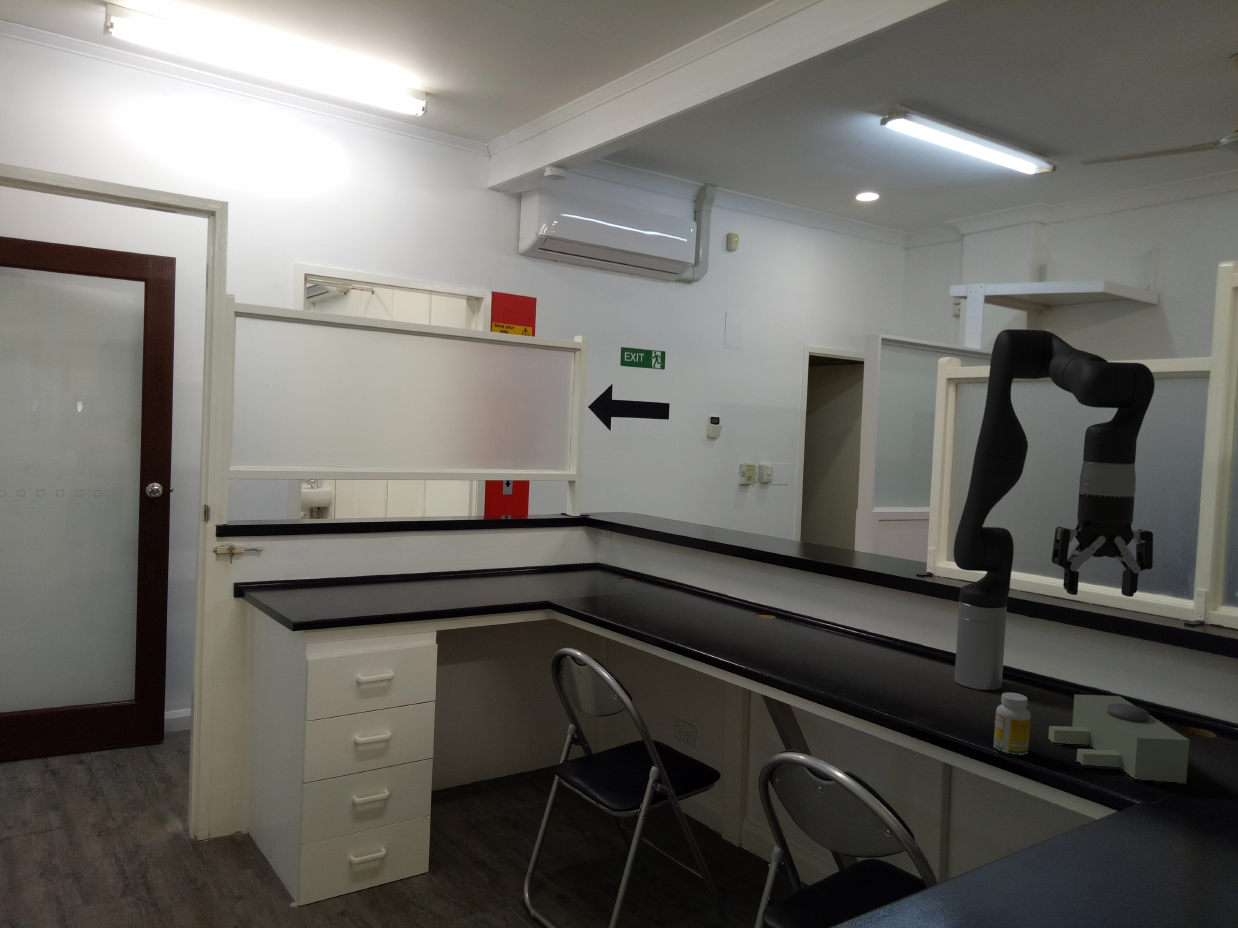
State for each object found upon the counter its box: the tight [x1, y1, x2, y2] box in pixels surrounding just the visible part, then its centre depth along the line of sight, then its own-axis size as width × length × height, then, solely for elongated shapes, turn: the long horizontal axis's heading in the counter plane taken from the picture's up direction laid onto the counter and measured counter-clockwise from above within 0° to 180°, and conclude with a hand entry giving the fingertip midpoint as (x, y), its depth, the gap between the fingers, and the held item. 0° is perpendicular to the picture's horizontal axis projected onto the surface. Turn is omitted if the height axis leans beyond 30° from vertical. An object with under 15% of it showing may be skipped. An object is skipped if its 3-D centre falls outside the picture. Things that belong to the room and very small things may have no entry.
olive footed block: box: [1047, 694, 1190, 784], centre depth 145 cm, size 20×14×8 cm
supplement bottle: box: [993, 692, 1032, 755], centre depth 145 cm, size 5×5×10 cm
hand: (1099, 594), depth 134 cm, fingers open, 8 cm apart
